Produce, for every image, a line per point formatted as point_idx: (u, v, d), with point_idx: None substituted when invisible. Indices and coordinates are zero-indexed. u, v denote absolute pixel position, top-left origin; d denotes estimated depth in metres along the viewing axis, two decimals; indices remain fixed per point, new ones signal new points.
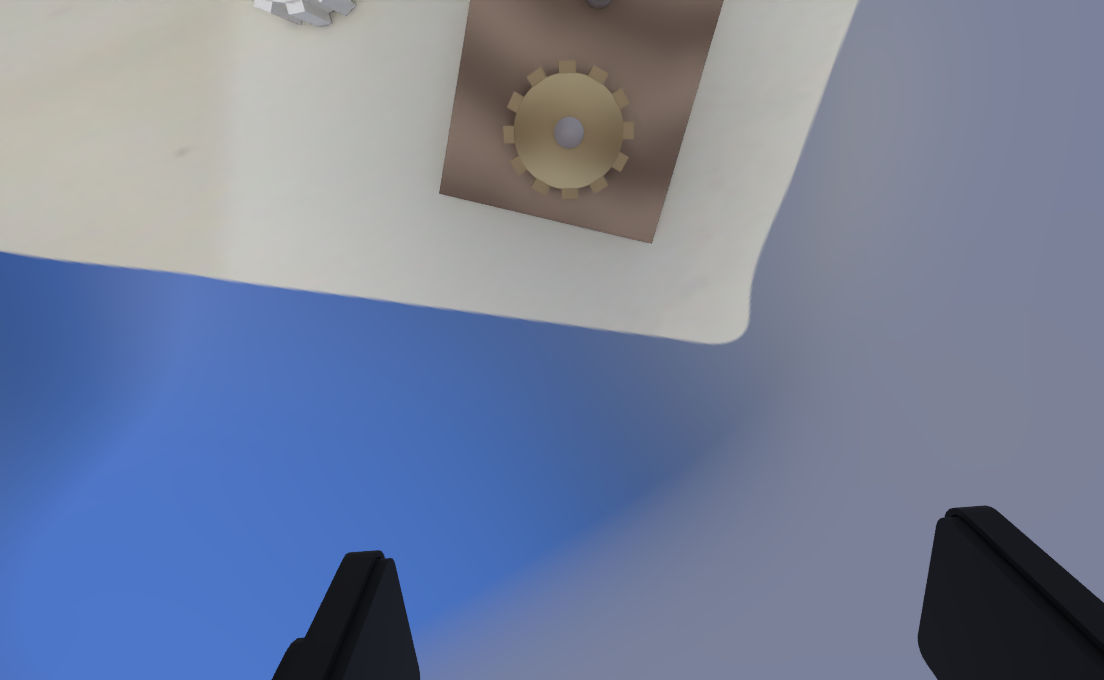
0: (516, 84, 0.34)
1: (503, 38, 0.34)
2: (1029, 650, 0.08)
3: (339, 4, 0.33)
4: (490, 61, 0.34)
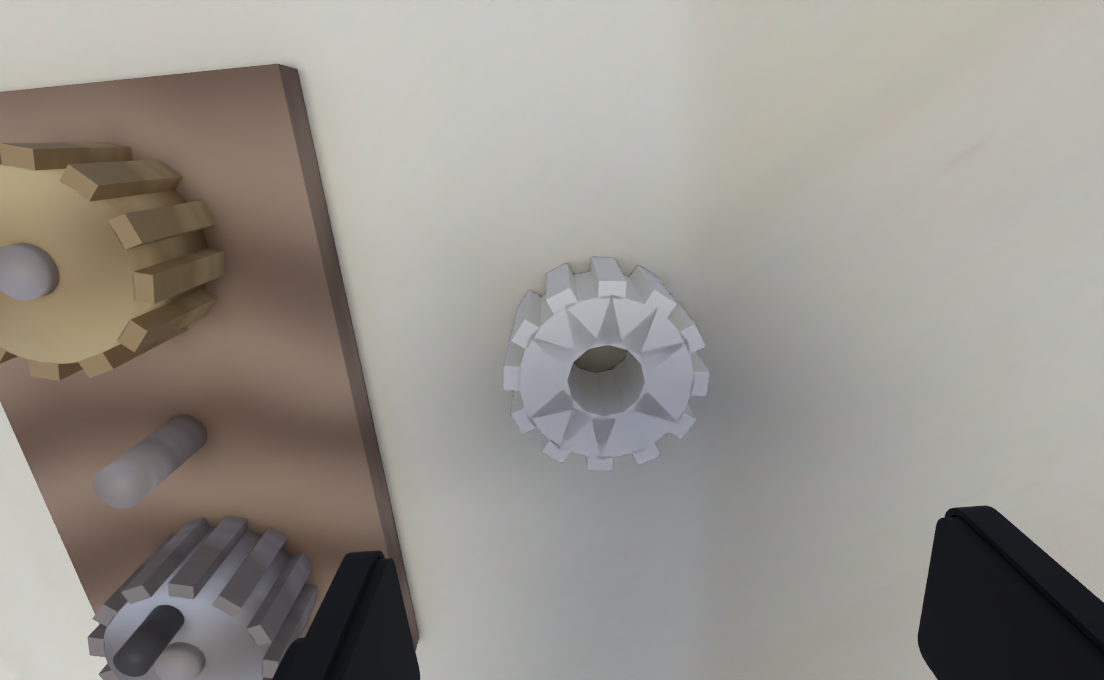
0: (235, 287, 0.21)
1: (281, 341, 0.22)
2: (1029, 650, 0.08)
3: (521, 311, 0.21)
4: (286, 306, 0.22)
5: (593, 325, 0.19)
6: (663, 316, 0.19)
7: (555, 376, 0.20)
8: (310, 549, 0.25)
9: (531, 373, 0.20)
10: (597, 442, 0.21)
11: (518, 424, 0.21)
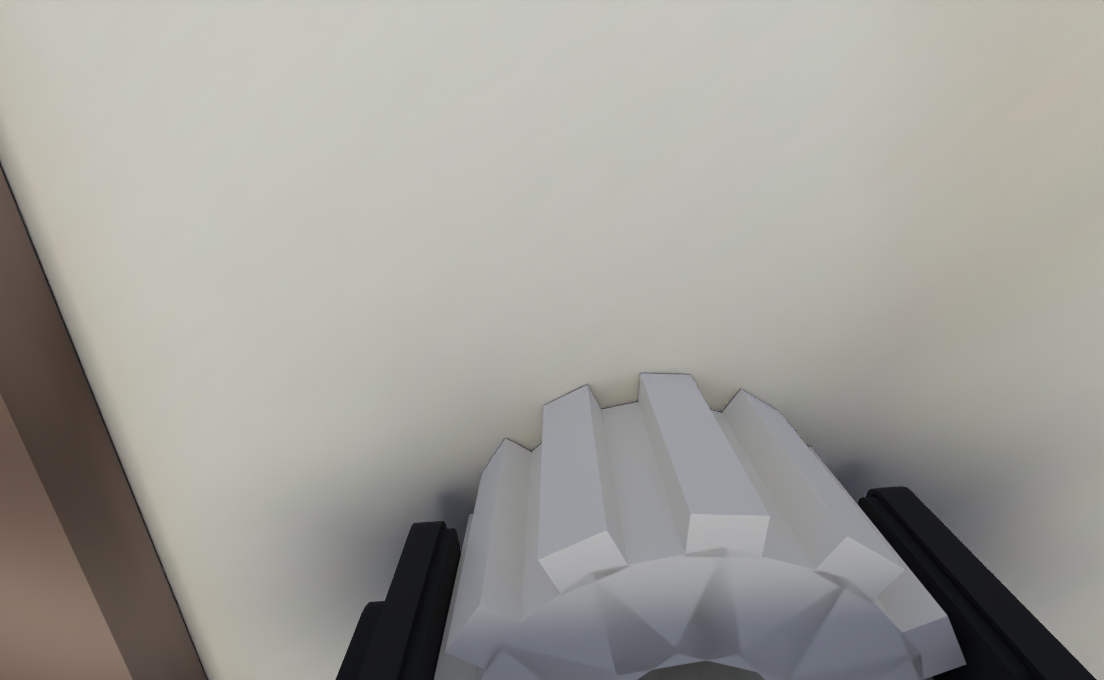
0: None
1: None
2: None
3: (483, 519, 0.09)
4: None
5: (668, 618, 0.07)
6: (862, 596, 0.07)
7: None
8: None
9: None
10: None
11: None
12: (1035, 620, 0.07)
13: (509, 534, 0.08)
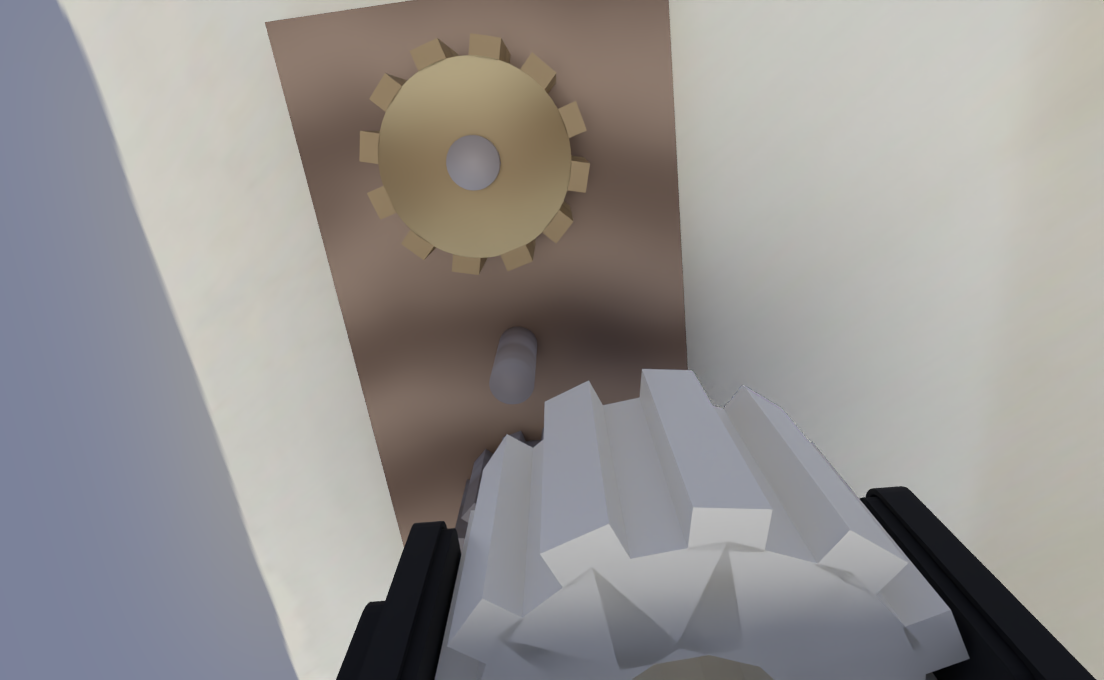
0: (587, 194, 0.22)
1: (624, 248, 0.23)
2: None
3: (484, 514, 0.09)
4: (634, 212, 0.22)
5: (670, 612, 0.07)
6: (866, 590, 0.07)
7: None
8: None
9: None
10: None
11: None
12: (1034, 620, 0.07)
13: (511, 529, 0.08)
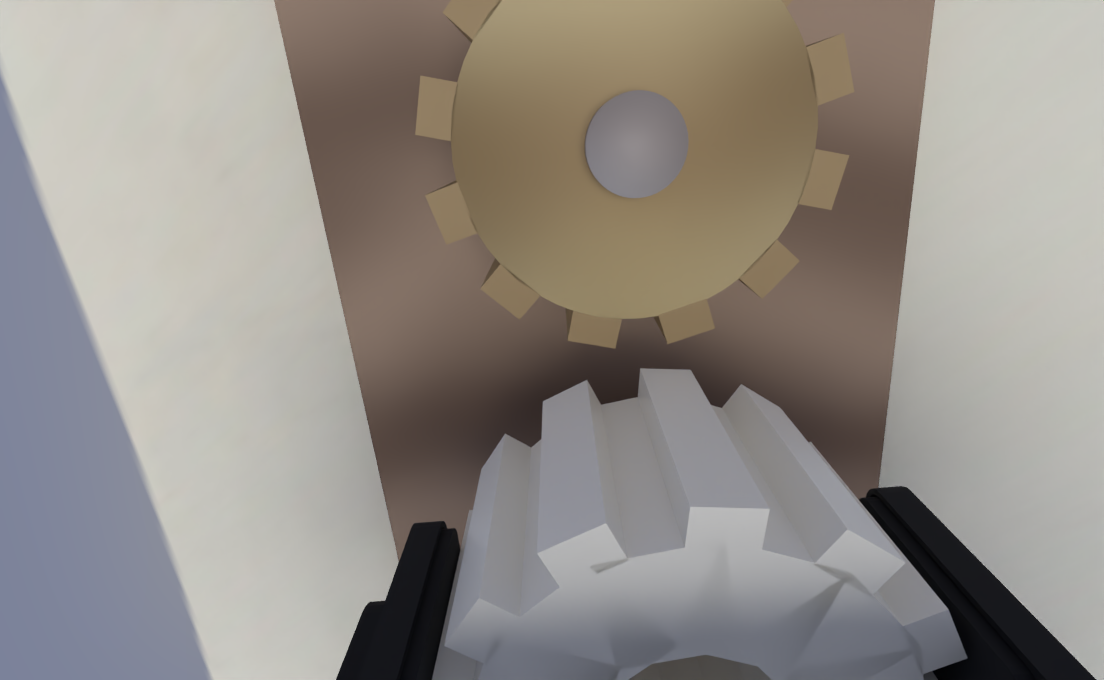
0: None
1: (810, 296, 0.14)
2: None
3: (482, 514, 0.09)
4: (834, 240, 0.14)
5: (668, 612, 0.07)
6: (863, 589, 0.07)
7: None
8: None
9: None
10: None
11: None
12: (1035, 620, 0.07)
13: (508, 528, 0.08)
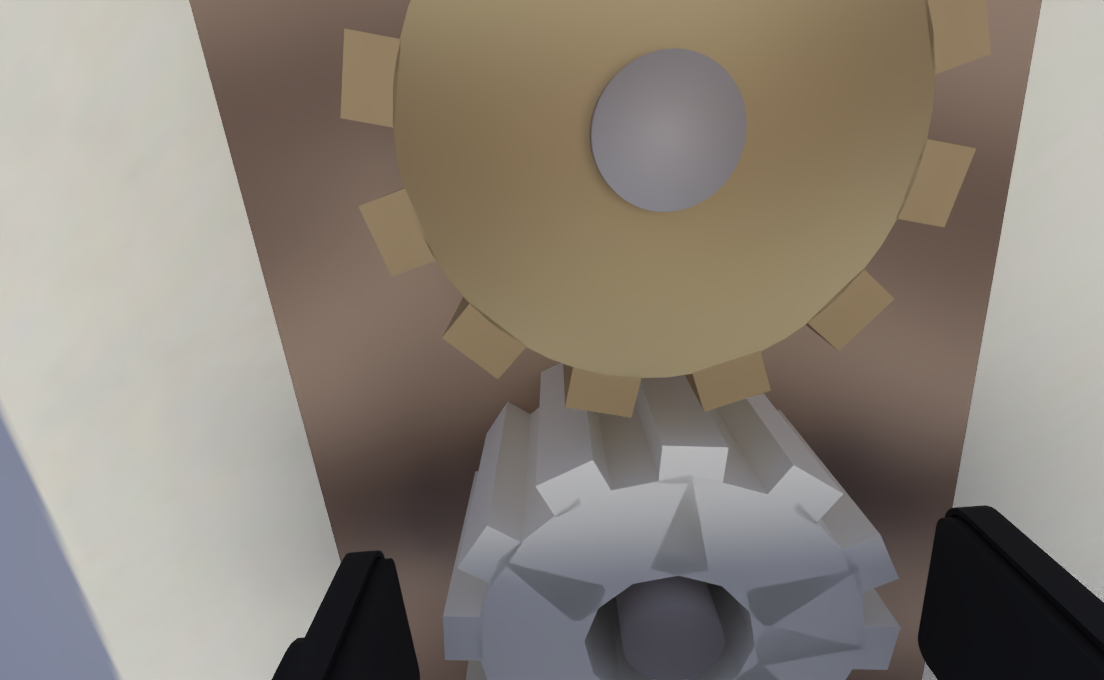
0: None
1: (870, 326, 0.12)
2: (1029, 650, 0.08)
3: (488, 467, 0.10)
4: (904, 257, 0.11)
5: (645, 537, 0.08)
6: (808, 518, 0.08)
7: (558, 635, 0.09)
8: None
9: (506, 629, 0.09)
10: None
11: None
12: None
13: (511, 476, 0.10)
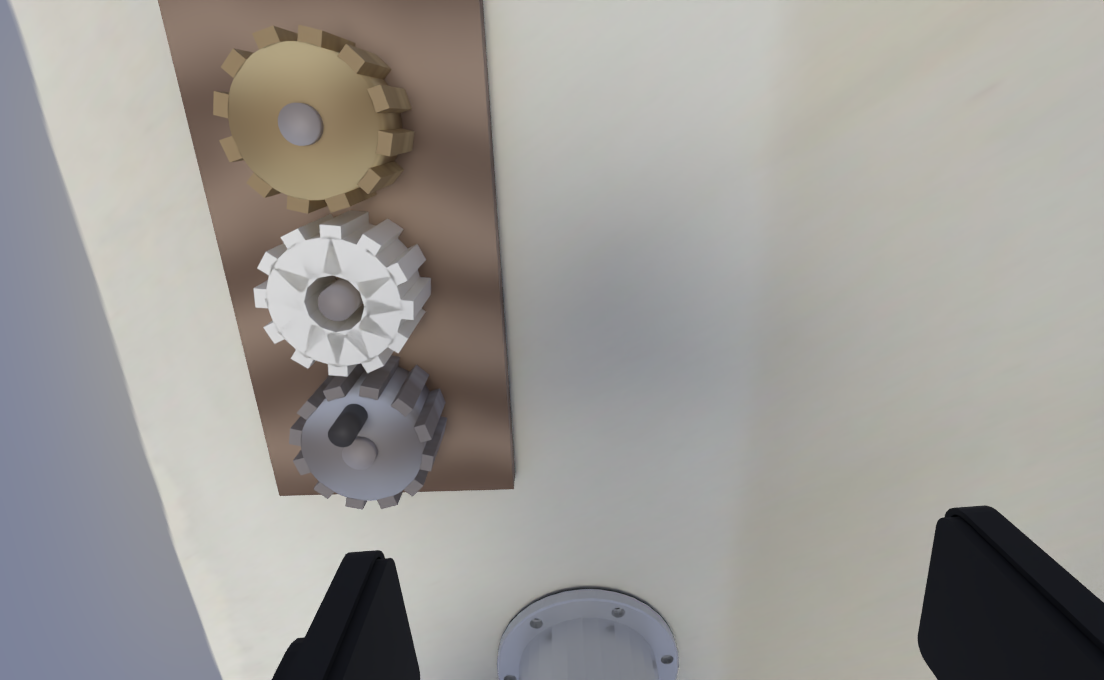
0: (418, 162, 0.28)
1: (448, 209, 0.28)
2: (1029, 650, 0.08)
3: None
4: (455, 180, 0.28)
5: (319, 259, 0.25)
6: (373, 255, 0.25)
7: (294, 298, 0.26)
8: (445, 386, 0.32)
9: (276, 294, 0.26)
10: (333, 353, 0.27)
11: (270, 335, 0.27)
12: None
13: (286, 248, 0.27)
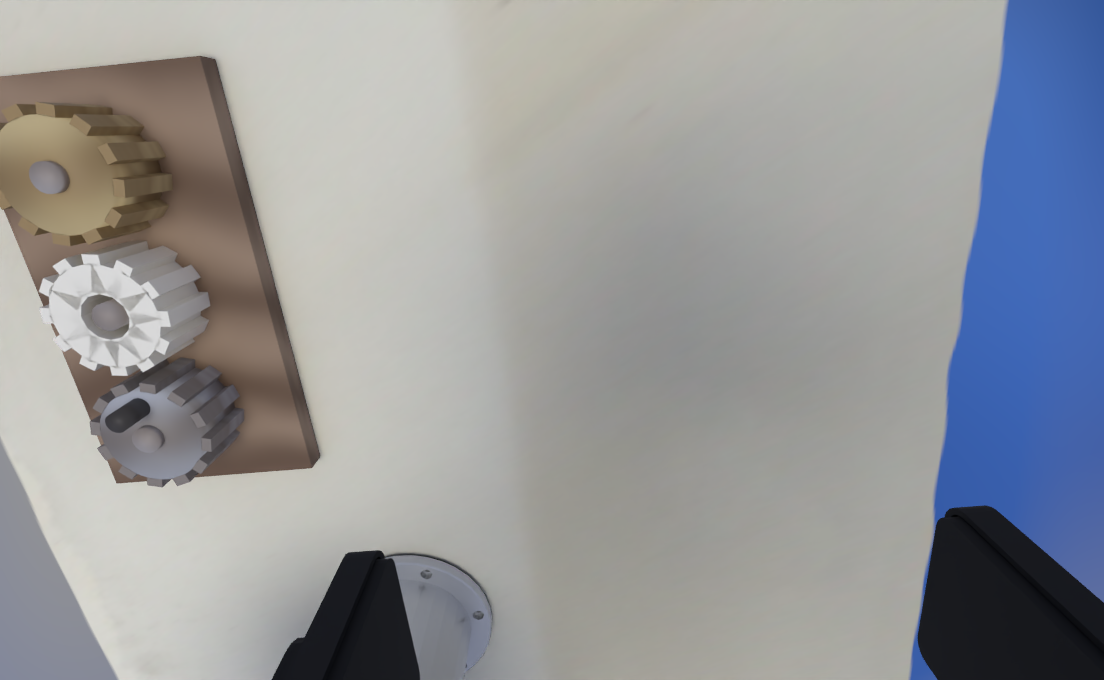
0: (179, 198, 0.34)
1: (211, 234, 0.35)
2: (1029, 650, 0.08)
3: None
4: (212, 211, 0.34)
5: (86, 282, 0.32)
6: (128, 276, 0.32)
7: (72, 314, 0.32)
8: (237, 382, 0.38)
9: (57, 312, 0.32)
10: (112, 357, 0.33)
11: (59, 345, 0.33)
12: None
13: None
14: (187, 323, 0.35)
